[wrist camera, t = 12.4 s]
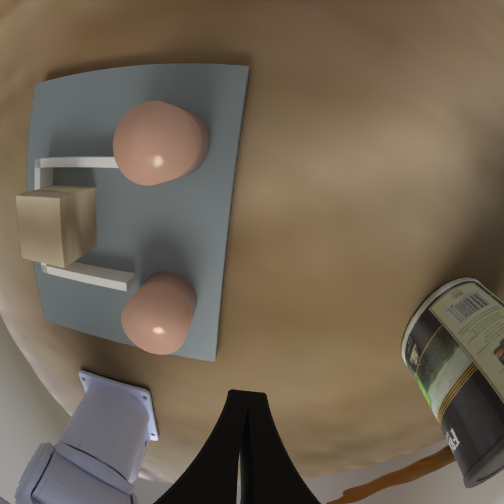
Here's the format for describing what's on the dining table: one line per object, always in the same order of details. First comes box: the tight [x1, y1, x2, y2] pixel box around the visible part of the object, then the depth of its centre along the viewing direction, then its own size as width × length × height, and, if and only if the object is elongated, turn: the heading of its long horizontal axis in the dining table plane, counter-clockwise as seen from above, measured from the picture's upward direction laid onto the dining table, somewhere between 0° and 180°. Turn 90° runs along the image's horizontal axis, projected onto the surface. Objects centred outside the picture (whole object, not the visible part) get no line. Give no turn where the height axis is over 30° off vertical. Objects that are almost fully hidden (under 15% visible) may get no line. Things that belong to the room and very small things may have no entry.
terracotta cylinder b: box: [113, 101, 210, 185], centre depth 13 cm, size 4×4×4 cm
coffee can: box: [402, 277, 504, 488], centre depth 13 cm, size 10×10×14 cm
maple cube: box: [16, 185, 97, 268], centre depth 15 cm, size 4×4×4 cm
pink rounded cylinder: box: [121, 272, 197, 355], centre depth 17 cm, size 4×4×4 cm
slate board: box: [27, 63, 250, 362], centre depth 17 cm, size 20×16×1 cm
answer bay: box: [35, 156, 136, 291], centre depth 16 cm, size 8×8×2 cm
